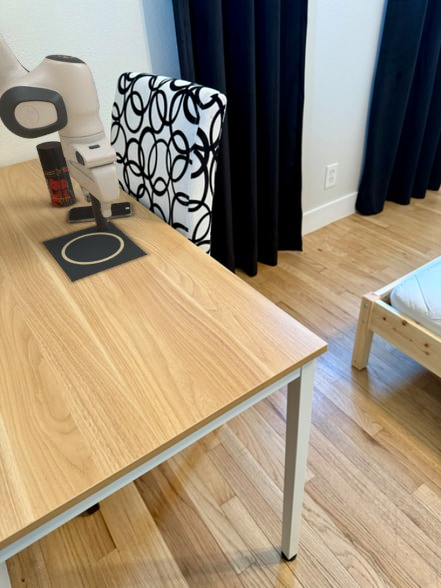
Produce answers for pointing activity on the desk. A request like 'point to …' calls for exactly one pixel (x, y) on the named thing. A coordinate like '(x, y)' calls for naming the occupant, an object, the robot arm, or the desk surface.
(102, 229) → the marker
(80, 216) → the smartphone
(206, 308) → the desk surface
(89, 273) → the desk pad
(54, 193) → the deodorant
